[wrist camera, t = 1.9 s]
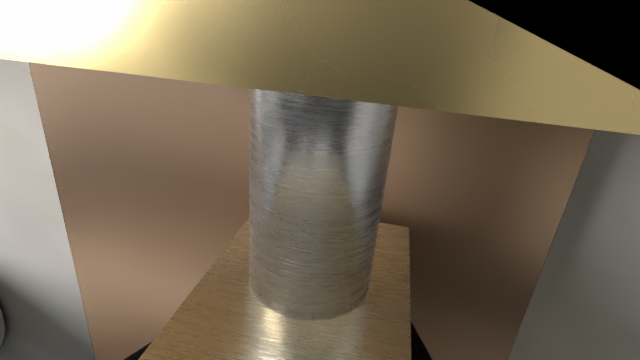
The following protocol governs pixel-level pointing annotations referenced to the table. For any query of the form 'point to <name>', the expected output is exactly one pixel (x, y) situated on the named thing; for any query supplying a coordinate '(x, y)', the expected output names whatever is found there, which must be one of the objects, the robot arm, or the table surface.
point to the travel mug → (2, 327)
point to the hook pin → (305, 245)
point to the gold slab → (337, 53)
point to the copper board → (233, 191)
